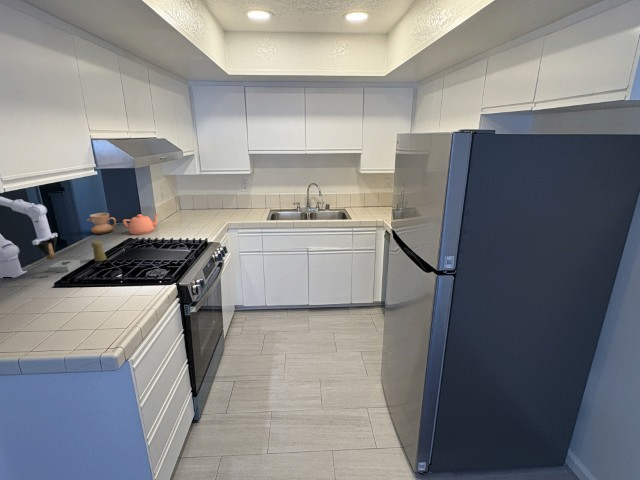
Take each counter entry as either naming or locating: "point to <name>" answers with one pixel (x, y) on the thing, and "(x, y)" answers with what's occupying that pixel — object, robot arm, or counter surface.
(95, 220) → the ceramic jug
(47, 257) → the peg
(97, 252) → the olive pepper mill
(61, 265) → the socket
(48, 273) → the pad
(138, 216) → the teapot
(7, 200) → the robot arm
